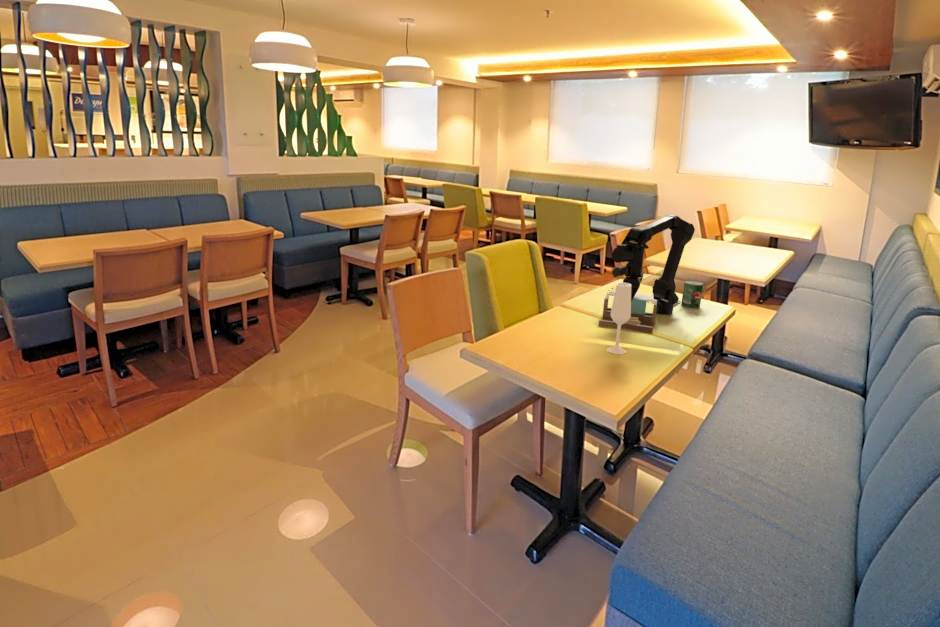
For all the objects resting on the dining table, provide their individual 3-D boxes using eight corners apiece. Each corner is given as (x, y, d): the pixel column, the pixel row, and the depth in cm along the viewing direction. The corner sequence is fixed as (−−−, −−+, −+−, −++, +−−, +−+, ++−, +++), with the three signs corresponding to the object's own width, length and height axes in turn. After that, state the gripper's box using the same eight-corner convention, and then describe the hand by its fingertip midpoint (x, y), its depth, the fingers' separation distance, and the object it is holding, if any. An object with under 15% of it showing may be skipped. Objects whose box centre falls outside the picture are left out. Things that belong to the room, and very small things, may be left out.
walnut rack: (604, 315, 226) (607, 294, 223) (654, 321, 219) (657, 300, 217) (598, 328, 210) (600, 305, 207) (651, 335, 203) (654, 312, 201)
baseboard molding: (671, 309, 239) (680, 303, 248) (672, 302, 238) (681, 297, 248) (606, 296, 257) (616, 291, 266) (606, 290, 256) (617, 285, 265)
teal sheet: (613, 316, 221) (615, 295, 218) (644, 320, 217) (646, 299, 214) (613, 317, 219) (615, 296, 216) (643, 322, 215) (646, 300, 212)
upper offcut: (616, 318, 213) (616, 315, 213) (637, 320, 211) (638, 317, 211) (616, 322, 208) (616, 319, 208) (638, 324, 207) (638, 321, 206)
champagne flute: (630, 352, 187) (638, 285, 179) (616, 355, 183) (624, 287, 176) (615, 346, 192) (623, 280, 185) (602, 349, 189) (609, 283, 181)
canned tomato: (681, 302, 247) (685, 279, 244) (700, 305, 244) (704, 281, 240) (680, 307, 240) (683, 283, 237) (699, 309, 237) (703, 285, 234)
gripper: (617, 254, 222) (613, 290, 226) (611, 263, 205) (607, 302, 210) (645, 256, 218) (641, 293, 223) (641, 265, 201) (636, 305, 206)
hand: (631, 298), depth 215 cm, fingers open, 9 cm apart
